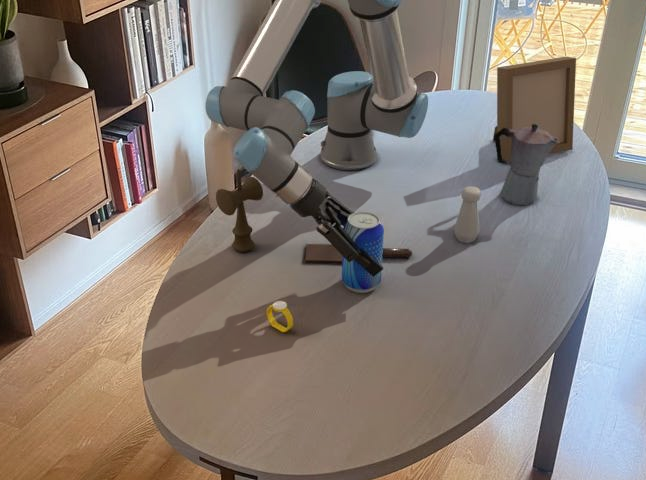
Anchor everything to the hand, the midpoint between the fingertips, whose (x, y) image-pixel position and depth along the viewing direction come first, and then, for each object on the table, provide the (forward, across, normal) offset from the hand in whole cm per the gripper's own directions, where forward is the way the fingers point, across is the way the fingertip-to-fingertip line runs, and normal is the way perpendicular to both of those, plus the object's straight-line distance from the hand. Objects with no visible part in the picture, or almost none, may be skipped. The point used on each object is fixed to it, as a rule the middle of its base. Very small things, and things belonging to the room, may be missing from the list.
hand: (377, 259), depth 173 cm
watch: (-9, +16, -19) cm, 26 cm away
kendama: (-16, -14, -26) cm, 34 cm away
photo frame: (+36, -67, +27) cm, 81 cm away
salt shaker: (+20, -19, +11) cm, 30 cm away
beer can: (+2, 0, -7) cm, 7 cm away
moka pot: (+31, -39, +22) cm, 54 cm away
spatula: (+2, -11, -7) cm, 13 cm away
